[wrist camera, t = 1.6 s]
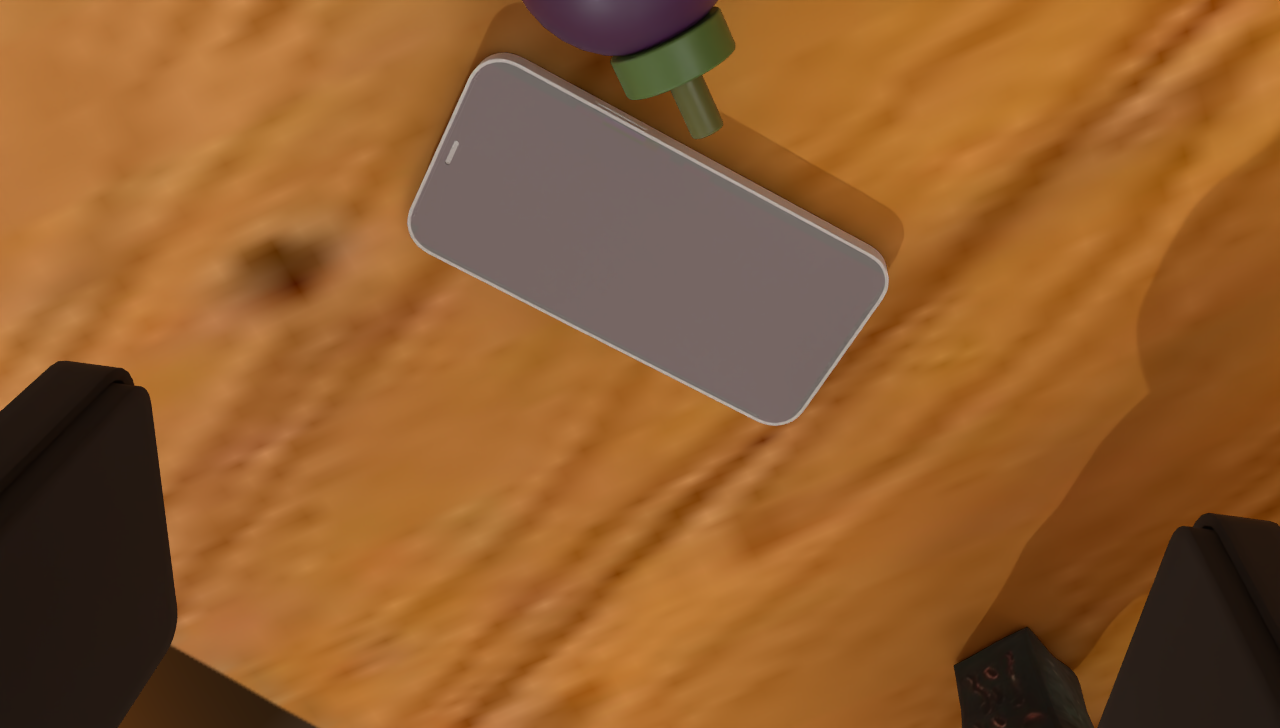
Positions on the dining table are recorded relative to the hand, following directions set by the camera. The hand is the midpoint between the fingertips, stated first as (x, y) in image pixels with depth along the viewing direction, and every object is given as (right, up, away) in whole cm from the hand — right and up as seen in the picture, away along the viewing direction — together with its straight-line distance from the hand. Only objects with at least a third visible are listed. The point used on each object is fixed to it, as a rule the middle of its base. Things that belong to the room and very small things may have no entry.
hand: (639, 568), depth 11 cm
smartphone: (0, +6, +29) cm, 30 cm away
